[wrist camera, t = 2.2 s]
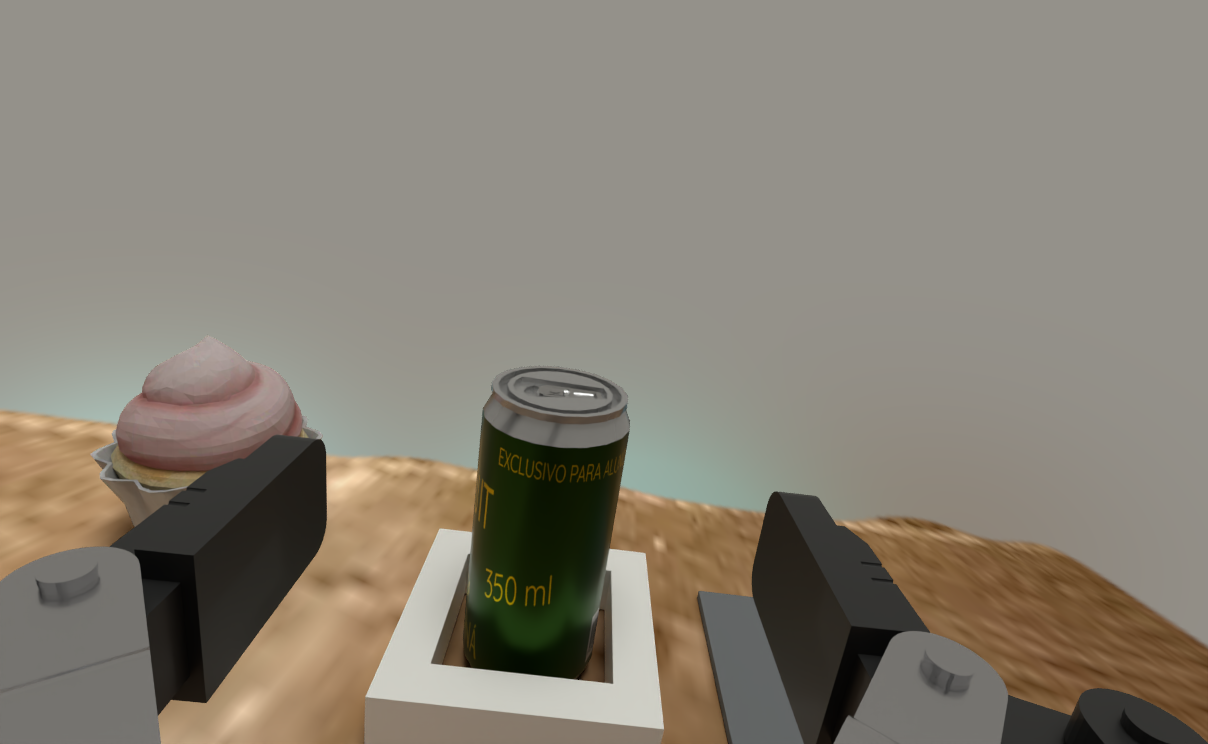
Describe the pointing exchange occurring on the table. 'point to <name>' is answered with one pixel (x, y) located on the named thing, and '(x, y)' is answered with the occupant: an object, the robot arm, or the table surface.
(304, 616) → the table surface
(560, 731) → the collar
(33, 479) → the table surface
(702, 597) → the mat
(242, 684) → the table surface
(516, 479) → the beer can
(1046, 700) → the table surface
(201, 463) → the cupcake
